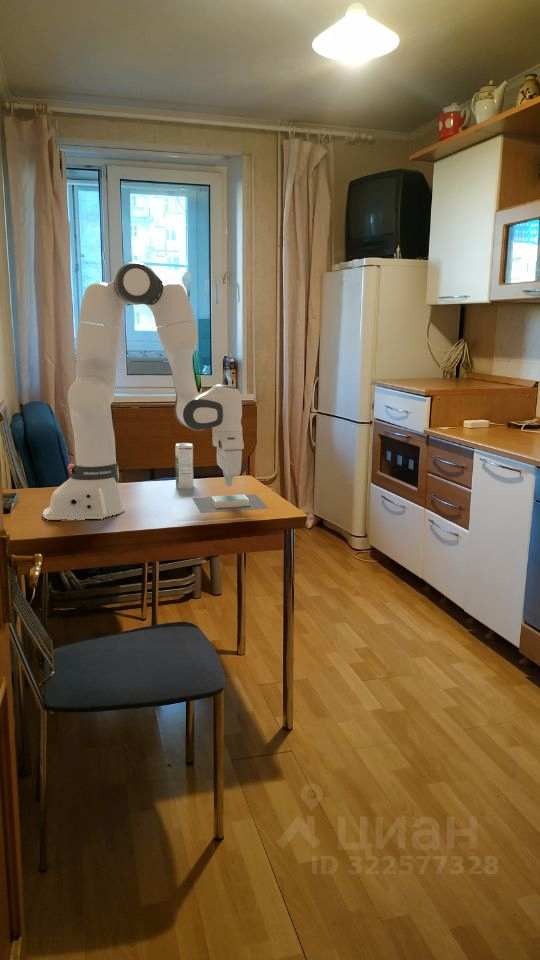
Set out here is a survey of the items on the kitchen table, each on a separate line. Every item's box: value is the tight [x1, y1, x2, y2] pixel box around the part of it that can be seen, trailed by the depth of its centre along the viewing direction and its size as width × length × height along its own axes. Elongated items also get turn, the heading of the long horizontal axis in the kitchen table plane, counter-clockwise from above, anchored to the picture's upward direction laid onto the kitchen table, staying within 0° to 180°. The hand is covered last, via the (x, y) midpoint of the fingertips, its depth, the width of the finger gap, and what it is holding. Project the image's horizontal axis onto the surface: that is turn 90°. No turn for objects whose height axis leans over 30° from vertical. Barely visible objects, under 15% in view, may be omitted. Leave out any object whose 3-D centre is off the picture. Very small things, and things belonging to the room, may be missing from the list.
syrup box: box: [174, 442, 194, 490], centre depth 227 cm, size 6×6×14 cm
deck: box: [211, 494, 249, 508], centre depth 203 cm, size 10×2×7 cm
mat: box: [192, 493, 270, 514], centre depth 205 cm, size 20×18×1 cm
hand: (228, 485), depth 205 cm, fingers closed
